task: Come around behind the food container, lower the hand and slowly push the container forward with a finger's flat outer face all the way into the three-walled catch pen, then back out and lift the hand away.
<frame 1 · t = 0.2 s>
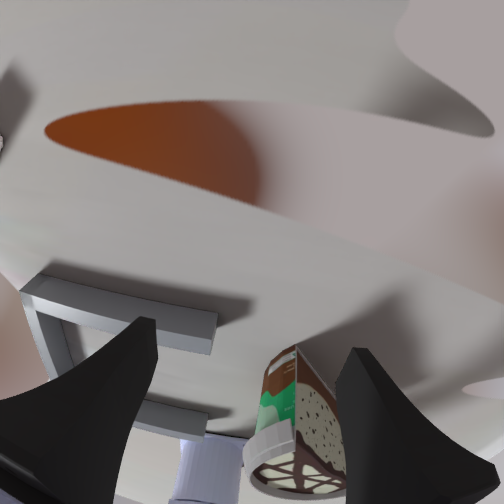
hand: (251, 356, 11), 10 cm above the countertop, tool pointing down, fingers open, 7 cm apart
catch pen: (127, 359, 25), on the countertop
food container: (288, 386, 26), on the countertop
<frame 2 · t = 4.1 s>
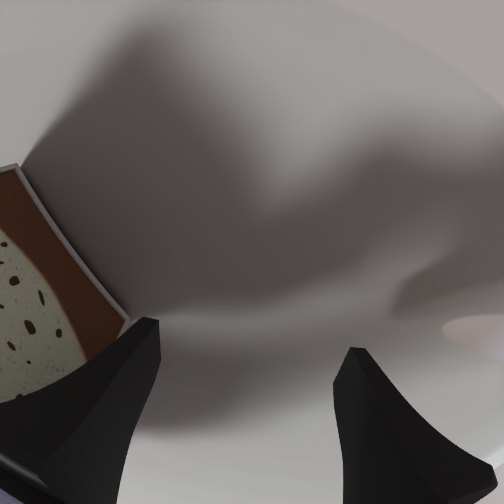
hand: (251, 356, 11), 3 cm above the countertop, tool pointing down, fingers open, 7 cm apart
food container: (44, 267, 13), on the countertop, touching gripper
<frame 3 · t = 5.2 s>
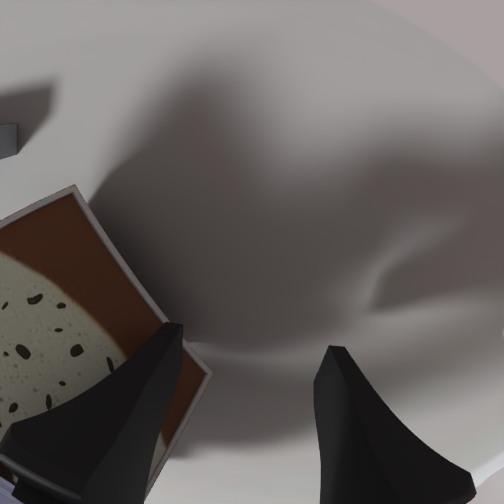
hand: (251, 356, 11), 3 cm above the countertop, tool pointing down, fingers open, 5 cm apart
food container: (114, 295, 13), point 1 cm above the countertop, touching gripper
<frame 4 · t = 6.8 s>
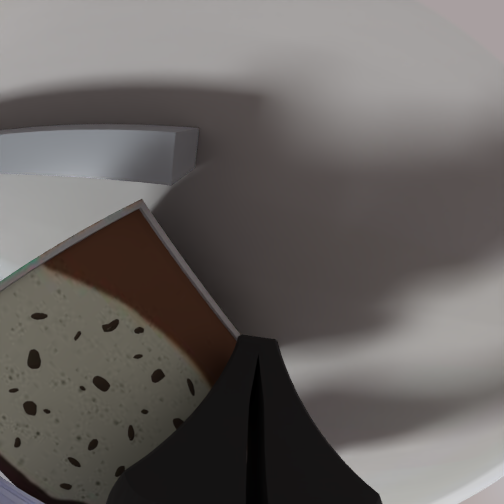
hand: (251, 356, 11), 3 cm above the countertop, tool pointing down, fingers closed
catch pen: (45, 272, 13), on the countertop
food container: (174, 312, 13), point 1 cm above the countertop, touching gripper
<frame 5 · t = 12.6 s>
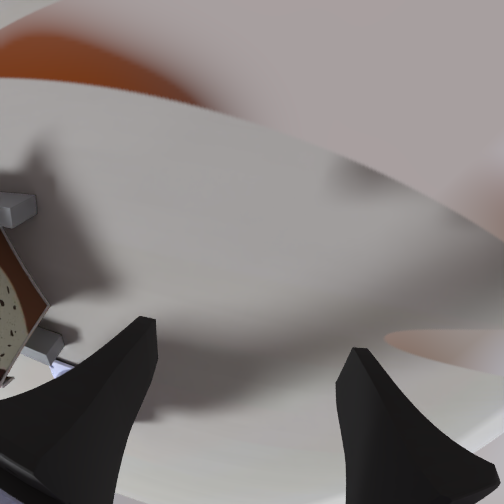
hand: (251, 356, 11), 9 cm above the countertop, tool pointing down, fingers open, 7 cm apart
food container: (9, 272, 22), on the countertop
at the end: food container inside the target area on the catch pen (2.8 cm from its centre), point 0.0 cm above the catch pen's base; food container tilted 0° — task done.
